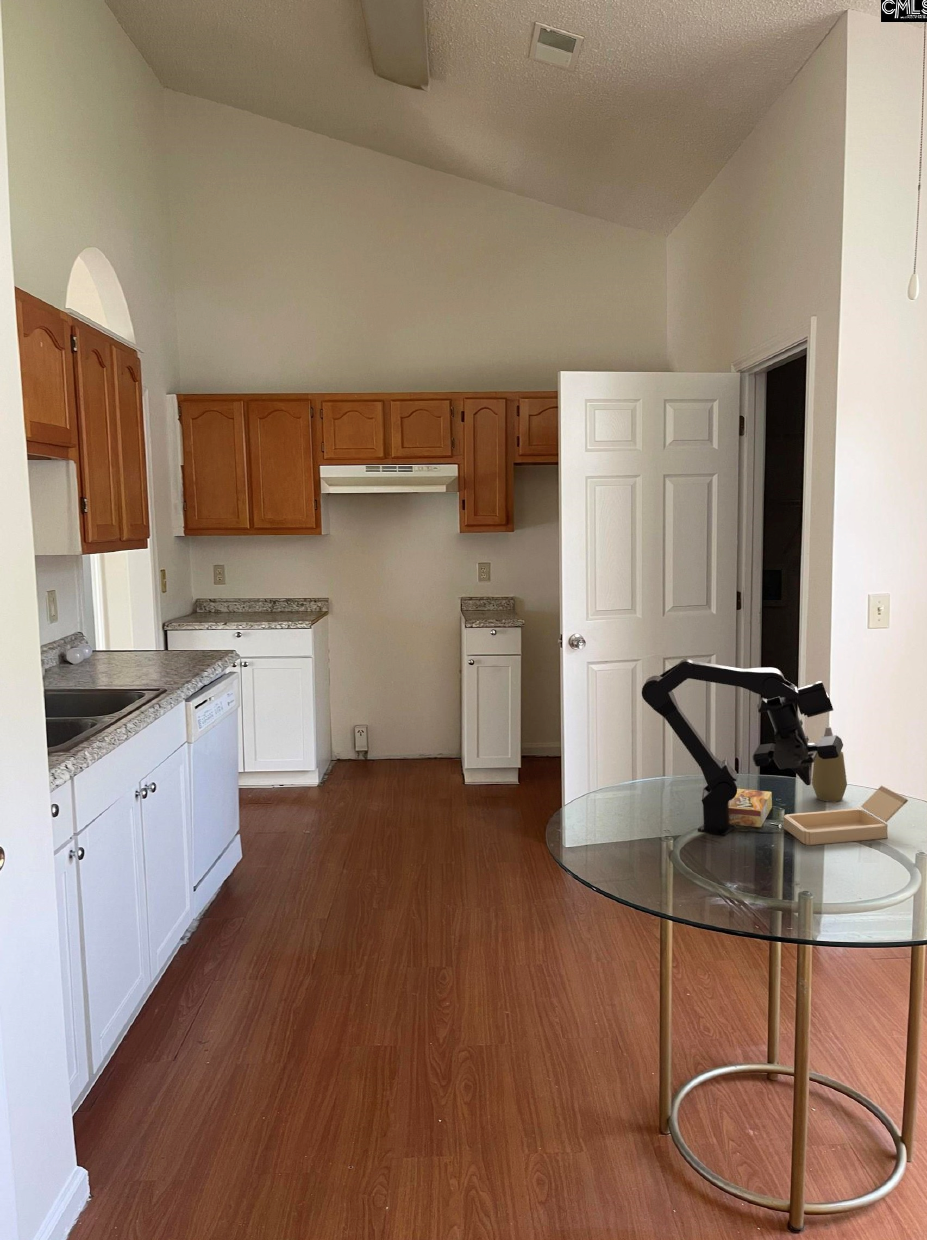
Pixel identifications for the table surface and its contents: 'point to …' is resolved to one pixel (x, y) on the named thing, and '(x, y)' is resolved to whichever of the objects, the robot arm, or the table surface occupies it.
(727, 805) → the robot arm
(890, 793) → the flap
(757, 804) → the candy box
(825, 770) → the squeeze bottle
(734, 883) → the table surface
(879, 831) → the carton
